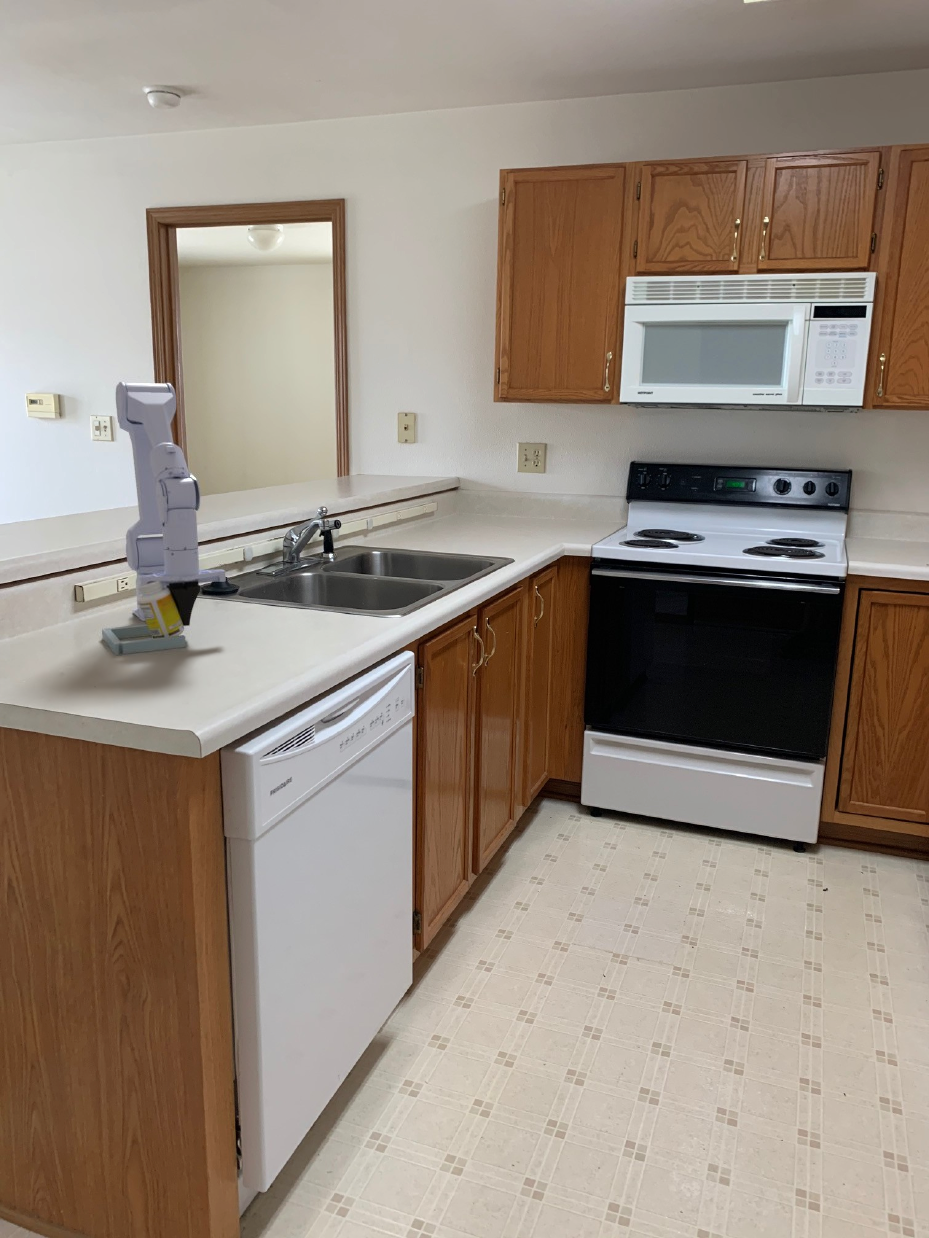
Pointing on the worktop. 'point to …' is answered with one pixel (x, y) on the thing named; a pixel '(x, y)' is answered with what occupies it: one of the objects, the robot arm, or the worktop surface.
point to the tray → (118, 647)
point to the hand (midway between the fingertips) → (185, 624)
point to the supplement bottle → (160, 610)
